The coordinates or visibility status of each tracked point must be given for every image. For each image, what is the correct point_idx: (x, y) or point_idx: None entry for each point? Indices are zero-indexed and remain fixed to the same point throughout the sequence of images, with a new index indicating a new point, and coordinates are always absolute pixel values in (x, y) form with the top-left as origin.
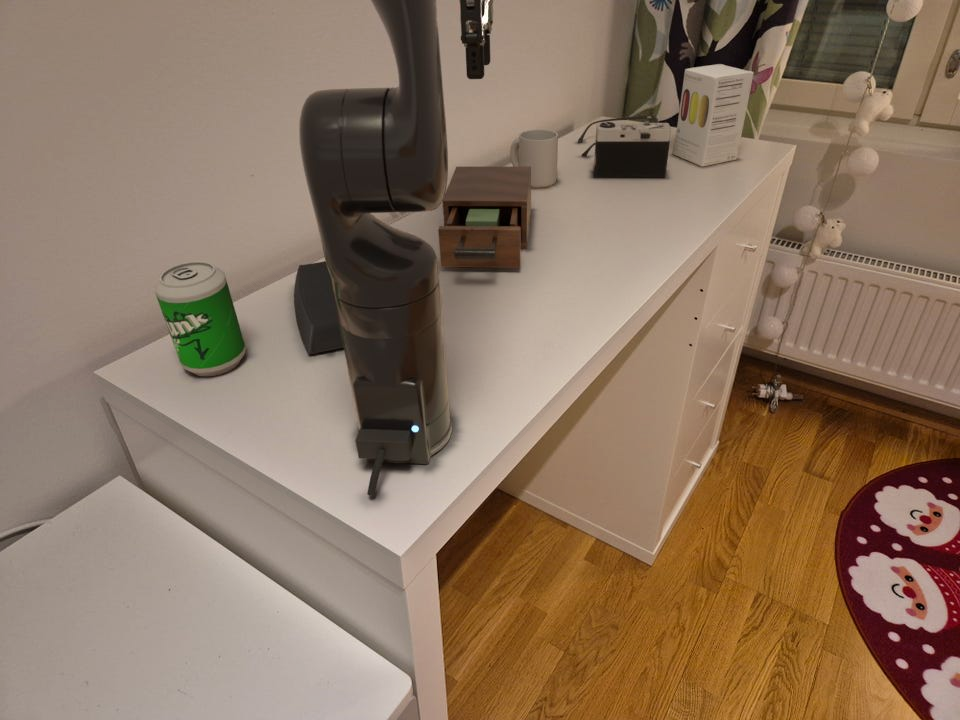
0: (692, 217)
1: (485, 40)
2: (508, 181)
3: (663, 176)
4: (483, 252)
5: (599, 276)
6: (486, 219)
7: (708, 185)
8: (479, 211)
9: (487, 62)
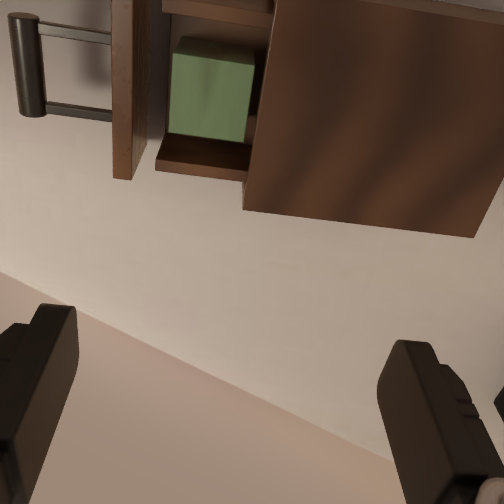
0: (324, 398)
1: (414, 489)
2: (383, 180)
3: (495, 401)
4: (17, 88)
5: (127, 259)
6: (180, 107)
7: None
8: (234, 92)
9: (379, 391)
